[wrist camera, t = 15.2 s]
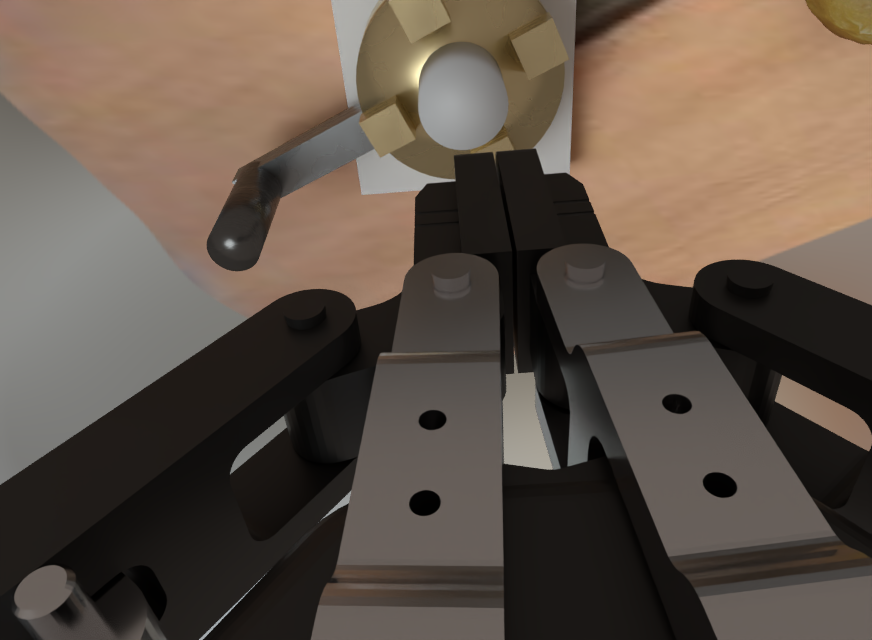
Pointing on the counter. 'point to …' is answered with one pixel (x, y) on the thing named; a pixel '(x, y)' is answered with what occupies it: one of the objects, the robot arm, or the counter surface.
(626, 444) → the robot arm
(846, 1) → the bread roll
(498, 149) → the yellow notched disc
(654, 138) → the counter surface
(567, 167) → the flange plate
